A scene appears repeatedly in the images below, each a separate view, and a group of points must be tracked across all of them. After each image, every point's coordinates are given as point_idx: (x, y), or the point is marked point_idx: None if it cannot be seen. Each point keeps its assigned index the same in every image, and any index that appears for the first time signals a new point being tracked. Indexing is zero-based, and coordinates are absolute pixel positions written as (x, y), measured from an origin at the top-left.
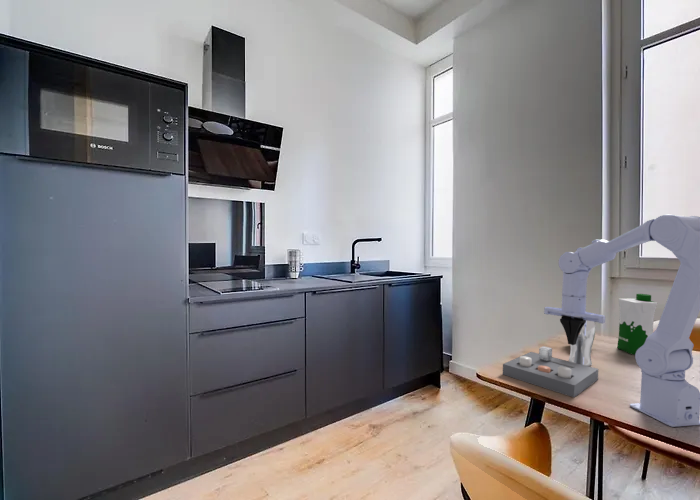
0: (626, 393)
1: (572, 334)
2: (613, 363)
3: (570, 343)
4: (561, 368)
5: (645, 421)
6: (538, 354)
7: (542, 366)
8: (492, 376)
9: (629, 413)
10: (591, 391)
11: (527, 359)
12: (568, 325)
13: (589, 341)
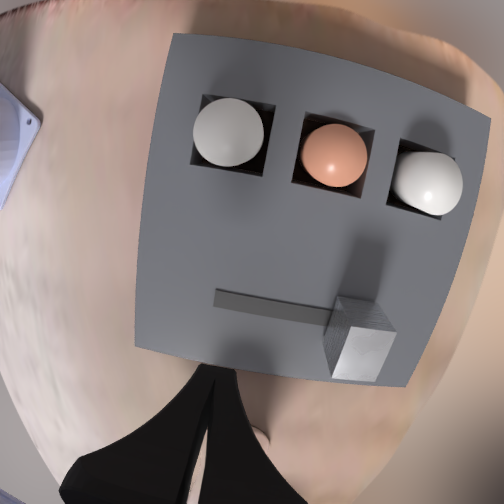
0: (60, 243)
1: (189, 409)
2: None
3: (218, 370)
4: (242, 118)
5: (21, 53)
6: (378, 374)
7: (347, 165)
8: (480, 78)
9: (44, 68)
10: (141, 168)
11: (427, 160)
12: (211, 471)
13: (190, 499)
